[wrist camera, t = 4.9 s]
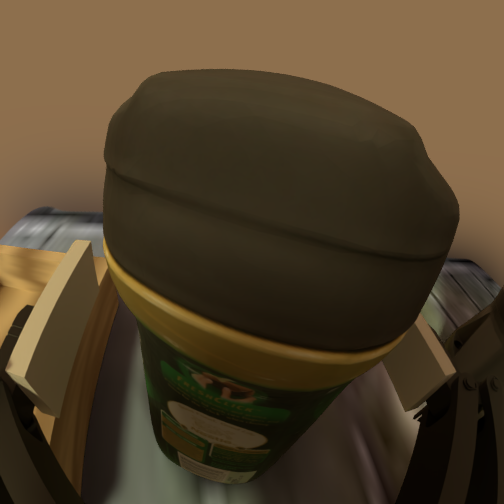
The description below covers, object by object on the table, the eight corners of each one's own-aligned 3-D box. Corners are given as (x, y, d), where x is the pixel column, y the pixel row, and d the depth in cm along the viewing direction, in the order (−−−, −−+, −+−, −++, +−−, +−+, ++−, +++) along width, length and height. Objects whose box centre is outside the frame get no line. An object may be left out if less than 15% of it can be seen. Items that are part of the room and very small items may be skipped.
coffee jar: (198, 348, 20) (235, 77, 11) (294, 384, 19) (411, 126, 9) (136, 450, 12) (33, 59, 2) (257, 499, 11) (576, 190, 1)
